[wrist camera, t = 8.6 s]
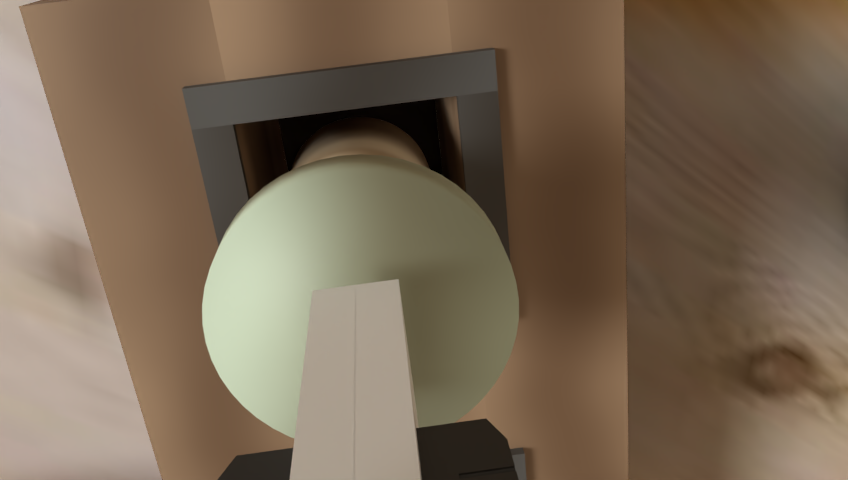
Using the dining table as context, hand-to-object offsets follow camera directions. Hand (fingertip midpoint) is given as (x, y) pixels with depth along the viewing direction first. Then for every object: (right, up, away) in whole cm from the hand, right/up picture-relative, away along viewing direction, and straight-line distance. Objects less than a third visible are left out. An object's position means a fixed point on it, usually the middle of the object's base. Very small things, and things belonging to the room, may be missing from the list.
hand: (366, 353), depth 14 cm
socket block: (-1, 0, +16) cm, 16 cm away
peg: (-1, +4, +8) cm, 9 cm away
